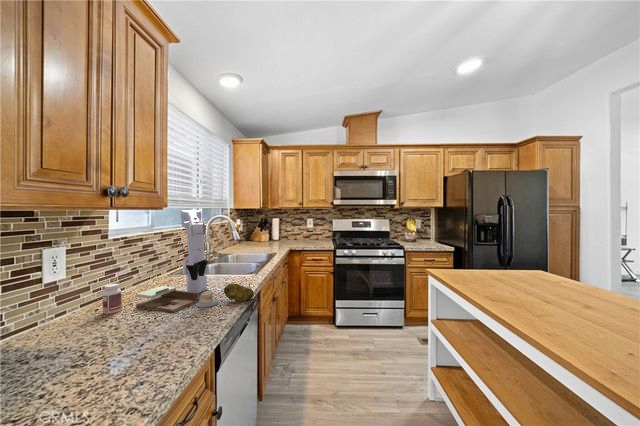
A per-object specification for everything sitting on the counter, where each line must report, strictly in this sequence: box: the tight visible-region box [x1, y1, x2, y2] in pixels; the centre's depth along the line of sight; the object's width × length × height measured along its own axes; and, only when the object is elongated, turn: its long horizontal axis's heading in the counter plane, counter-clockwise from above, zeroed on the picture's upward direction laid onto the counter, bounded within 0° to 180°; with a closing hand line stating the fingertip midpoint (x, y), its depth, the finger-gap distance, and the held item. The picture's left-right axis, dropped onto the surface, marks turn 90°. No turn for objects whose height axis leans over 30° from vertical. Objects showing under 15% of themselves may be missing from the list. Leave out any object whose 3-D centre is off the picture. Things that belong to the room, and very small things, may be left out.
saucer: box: [195, 298, 219, 309], centre depth 117 cm, size 9×9×1 cm
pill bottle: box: [102, 283, 123, 315], centre depth 109 cm, size 6×6×11 cm
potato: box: [223, 282, 255, 302], centre depth 121 cm, size 8×13×8 cm, turn 92°
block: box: [200, 291, 214, 304], centre depth 116 cm, size 4×4×4 cm
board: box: [135, 289, 200, 314], centre depth 117 cm, size 14×21×4 cm, turn 71°
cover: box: [135, 285, 177, 300], centre depth 118 cm, size 12×9×2 cm
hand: (197, 277), depth 121 cm, fingers open, 7 cm apart
